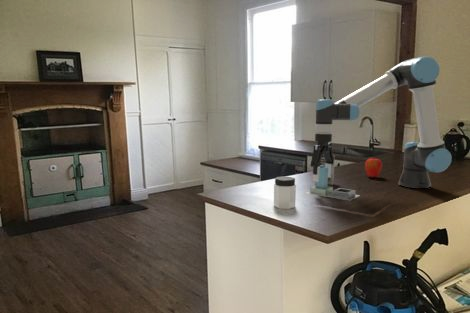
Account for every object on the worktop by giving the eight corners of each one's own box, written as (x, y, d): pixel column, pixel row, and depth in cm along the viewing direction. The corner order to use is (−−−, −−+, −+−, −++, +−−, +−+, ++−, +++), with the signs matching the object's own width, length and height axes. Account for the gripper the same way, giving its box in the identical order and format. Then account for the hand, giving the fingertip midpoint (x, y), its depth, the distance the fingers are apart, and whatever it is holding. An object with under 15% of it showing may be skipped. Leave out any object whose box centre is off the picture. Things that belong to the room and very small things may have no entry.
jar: (282, 202, 166) (282, 175, 164) (298, 206, 161) (299, 177, 159) (270, 206, 159) (270, 178, 158) (286, 210, 154) (287, 181, 152)
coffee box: (314, 185, 201) (315, 154, 199) (316, 182, 207) (317, 153, 205) (332, 186, 198) (334, 155, 196) (333, 184, 204) (335, 154, 202)
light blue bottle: (327, 192, 181) (328, 165, 179) (323, 193, 178) (324, 166, 176) (319, 190, 184) (320, 164, 182) (315, 192, 180) (316, 165, 179)
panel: (360, 197, 175) (360, 190, 175) (350, 202, 166) (350, 194, 166) (316, 190, 189) (316, 183, 188) (304, 195, 180) (304, 187, 179)
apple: (361, 177, 222) (362, 156, 221) (369, 175, 228) (370, 155, 227) (376, 179, 216) (377, 158, 214) (384, 177, 222) (385, 157, 220)
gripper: (327, 131, 188) (325, 174, 191) (303, 134, 170) (302, 182, 173) (342, 132, 184) (340, 176, 187) (319, 135, 165) (317, 184, 168)
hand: (321, 179), depth 180 cm, fingers open, 12 cm apart
